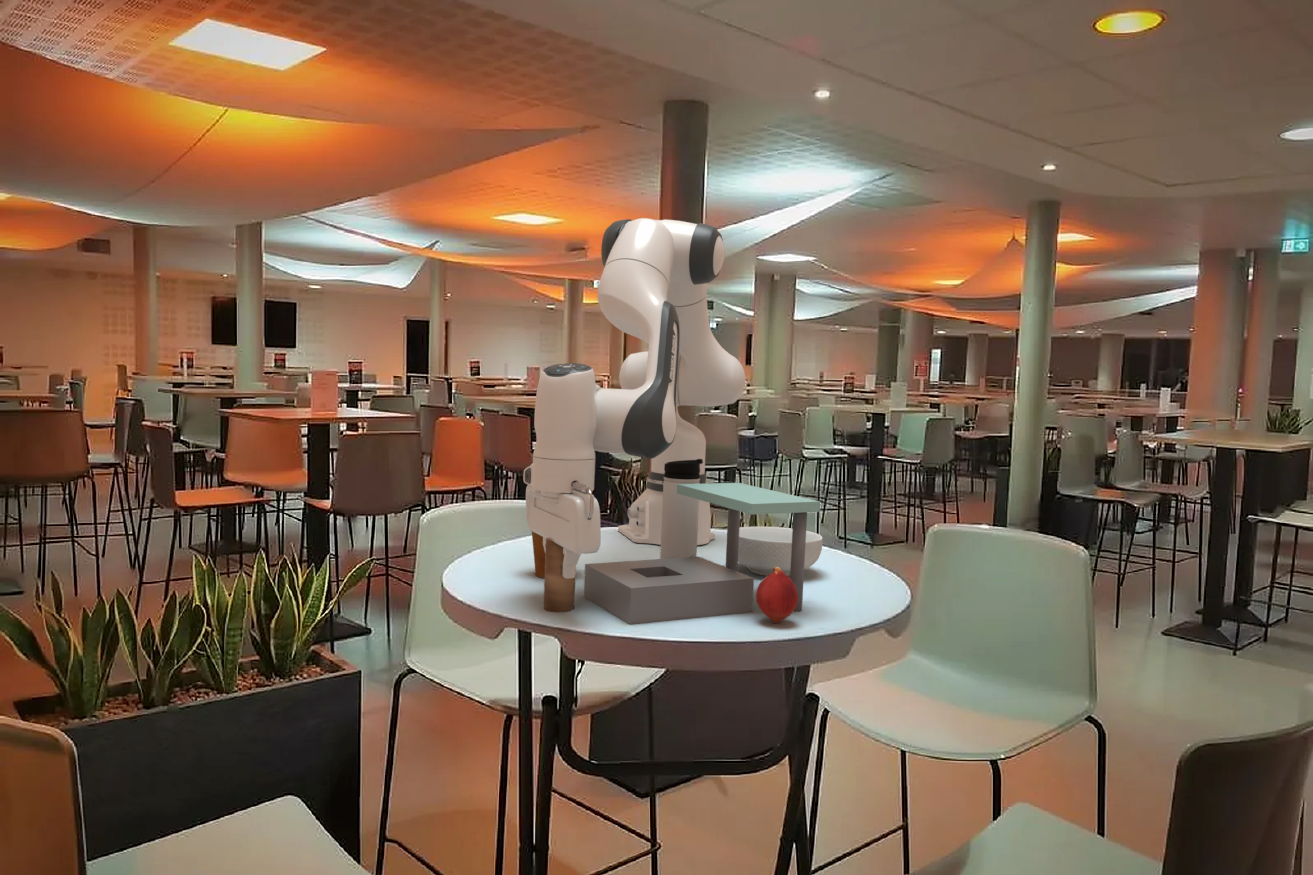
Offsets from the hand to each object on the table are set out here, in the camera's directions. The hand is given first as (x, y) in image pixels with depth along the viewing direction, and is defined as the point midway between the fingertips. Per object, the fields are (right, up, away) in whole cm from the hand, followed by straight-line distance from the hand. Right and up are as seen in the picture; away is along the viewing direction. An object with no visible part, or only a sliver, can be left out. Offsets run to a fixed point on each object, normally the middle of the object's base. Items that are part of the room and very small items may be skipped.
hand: (560, 572), depth 129 cm
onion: (+31, -7, -3) cm, 32 cm away
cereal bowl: (+35, -5, +31) cm, 47 cm away
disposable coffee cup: (-3, -4, +21) cm, 22 cm away
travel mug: (+18, -4, +27) cm, 32 cm away
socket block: (+15, -5, +5) cm, 17 cm away
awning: (+27, -5, +11) cm, 30 cm away
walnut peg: (0, -5, 0) cm, 5 cm away
